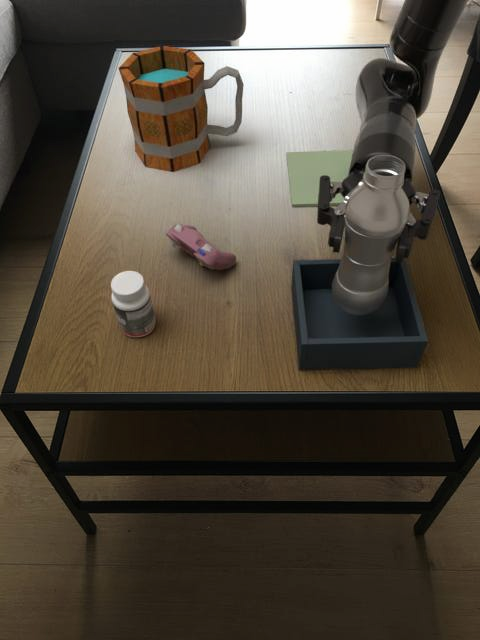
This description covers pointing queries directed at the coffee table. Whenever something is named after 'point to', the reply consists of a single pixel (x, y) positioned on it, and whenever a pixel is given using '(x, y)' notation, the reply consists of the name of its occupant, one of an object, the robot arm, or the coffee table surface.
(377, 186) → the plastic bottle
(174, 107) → the mug
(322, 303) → the bin
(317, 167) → the mat
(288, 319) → the coffee table surface
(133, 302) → the pill bottle
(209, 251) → the pink curved plastic piece
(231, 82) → the coffee table surface
